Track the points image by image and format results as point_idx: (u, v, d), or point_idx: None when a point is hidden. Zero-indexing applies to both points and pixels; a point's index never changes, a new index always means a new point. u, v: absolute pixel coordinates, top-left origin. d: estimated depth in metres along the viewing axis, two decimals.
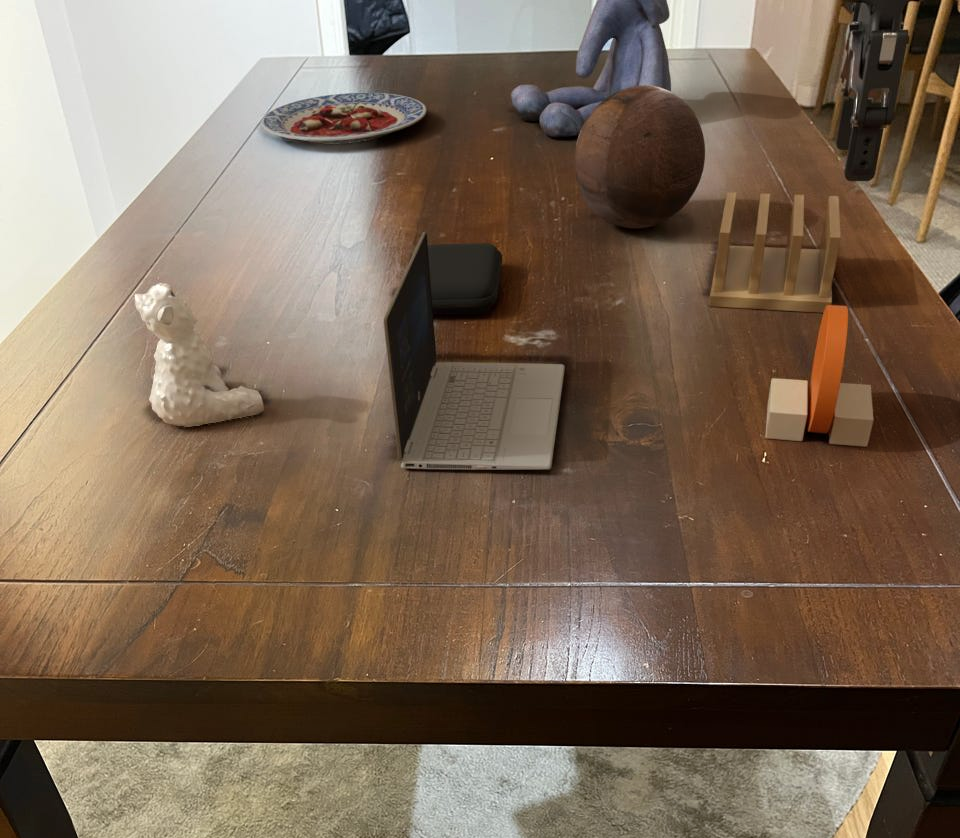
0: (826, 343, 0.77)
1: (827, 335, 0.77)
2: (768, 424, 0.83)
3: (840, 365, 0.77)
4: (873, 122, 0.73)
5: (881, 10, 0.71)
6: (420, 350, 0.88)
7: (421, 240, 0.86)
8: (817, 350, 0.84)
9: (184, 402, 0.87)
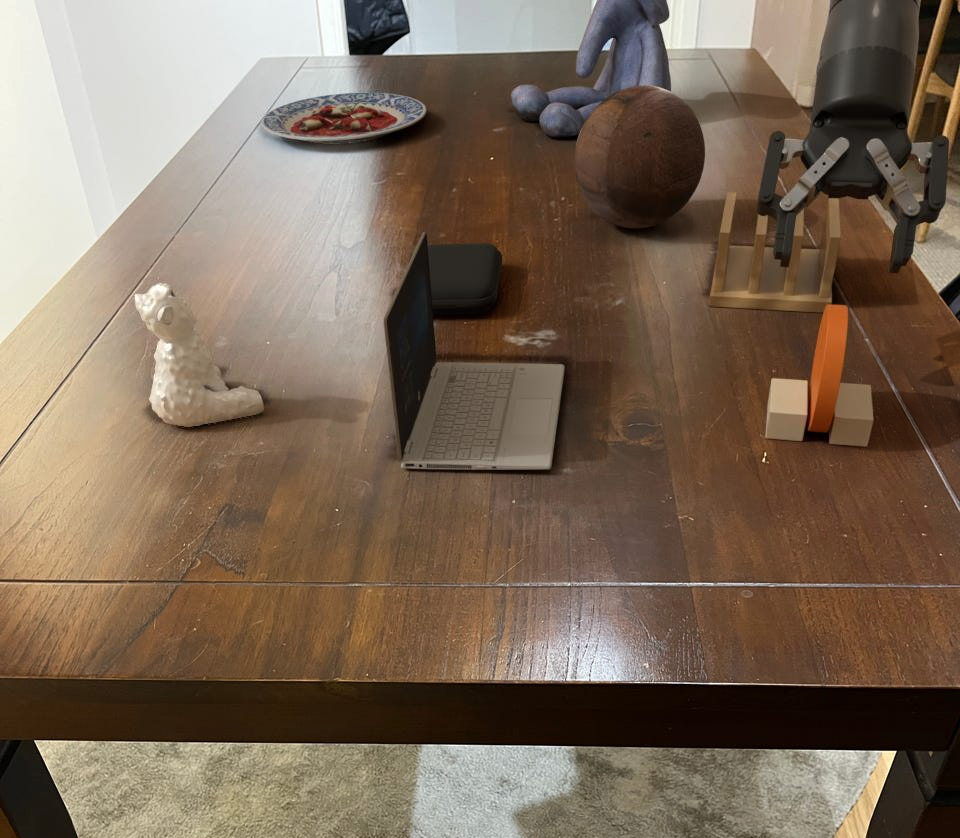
0: (826, 341, 0.77)
1: (827, 333, 0.77)
2: (768, 424, 0.83)
3: (840, 363, 0.77)
4: (758, 206, 0.83)
5: None
6: (420, 350, 0.88)
7: (421, 240, 0.86)
8: (817, 350, 0.84)
9: (184, 402, 0.87)
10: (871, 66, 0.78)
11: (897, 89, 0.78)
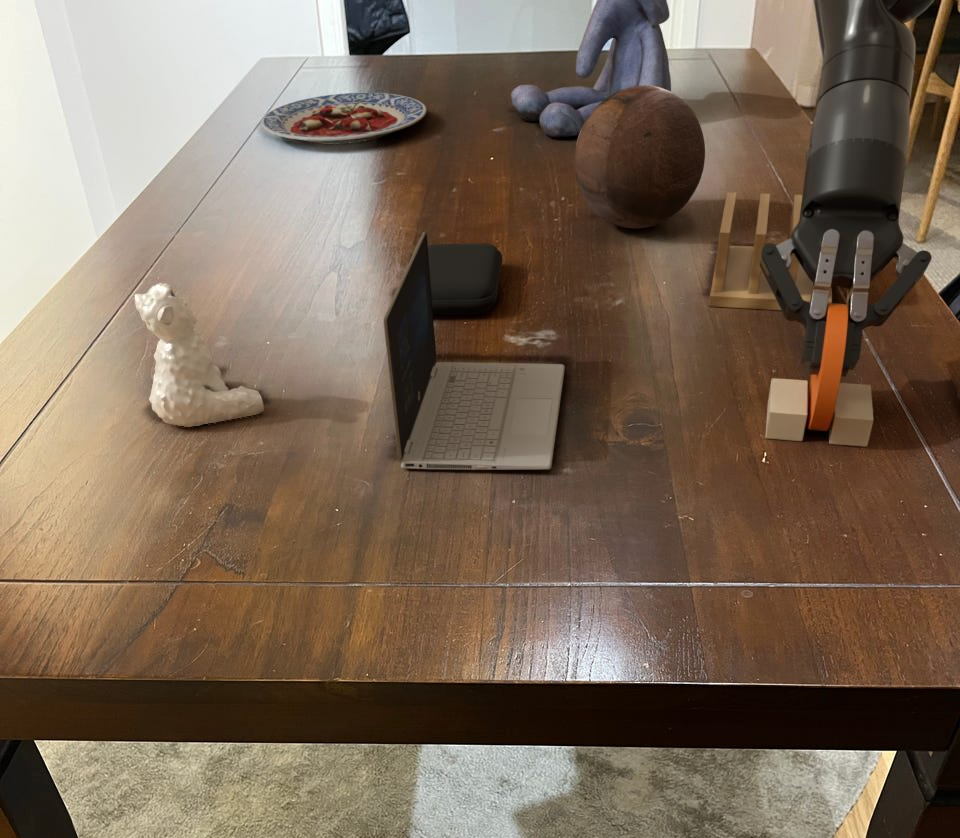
0: (826, 337, 0.77)
1: (827, 329, 0.78)
2: (768, 424, 0.83)
3: (841, 358, 0.77)
4: (786, 312, 0.81)
5: None
6: (420, 350, 0.88)
7: (421, 240, 0.86)
8: None
9: (184, 402, 0.87)
10: (862, 159, 0.77)
11: (888, 182, 0.77)
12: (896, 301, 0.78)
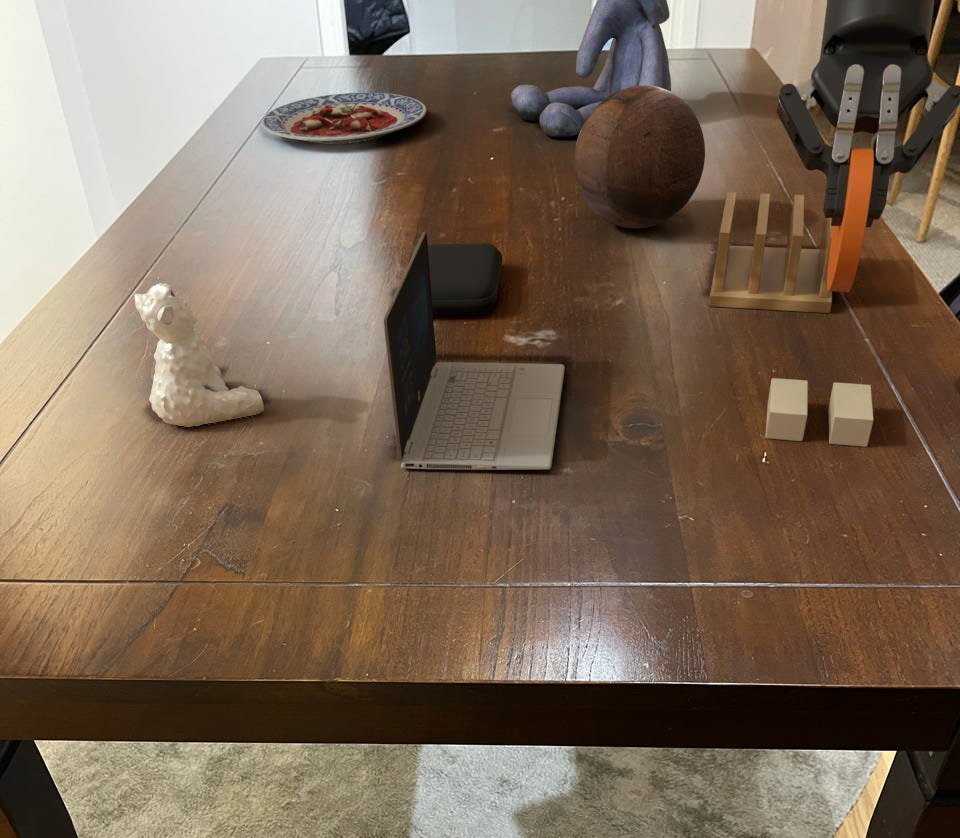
0: (851, 178, 0.72)
1: (852, 170, 0.72)
2: (768, 424, 0.83)
3: (866, 201, 0.71)
4: (806, 158, 0.75)
5: None
6: (420, 350, 0.88)
7: (421, 240, 0.86)
8: None
9: (184, 402, 0.87)
10: None
11: (917, 9, 0.71)
12: (926, 140, 0.72)
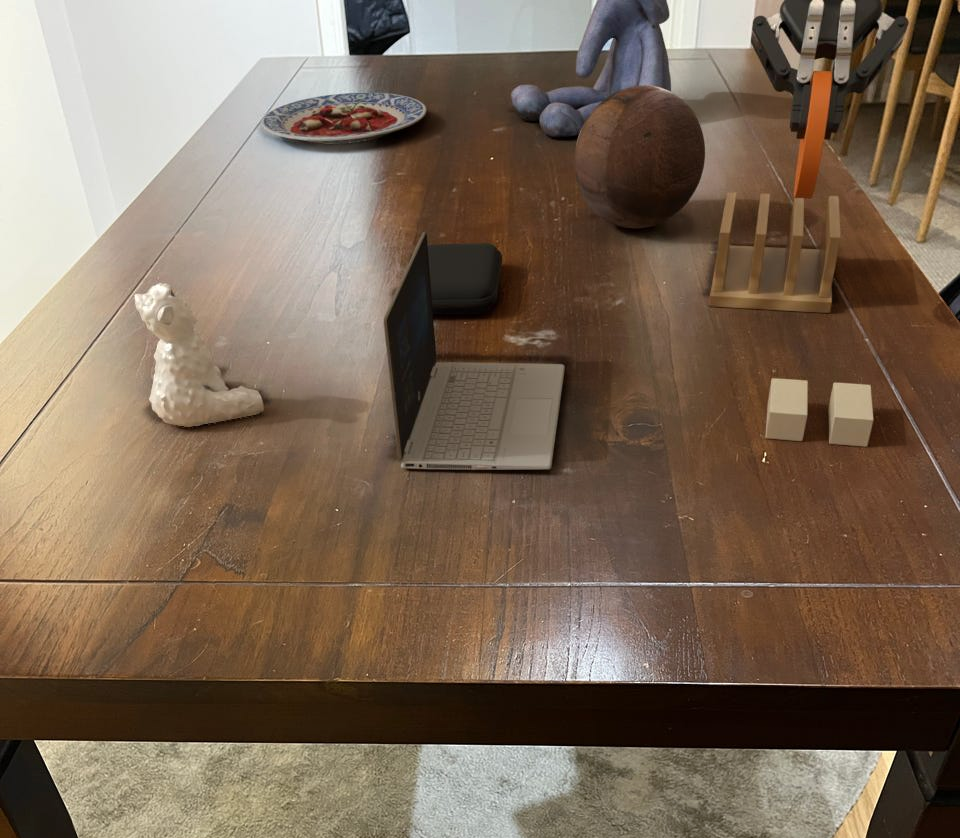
0: (812, 95, 0.84)
1: (813, 88, 0.84)
2: (768, 424, 0.83)
3: (825, 114, 0.84)
4: (775, 81, 0.87)
5: None
6: (420, 350, 0.88)
7: (421, 240, 0.86)
8: None
9: (184, 402, 0.87)
10: None
11: None
12: (876, 63, 0.85)
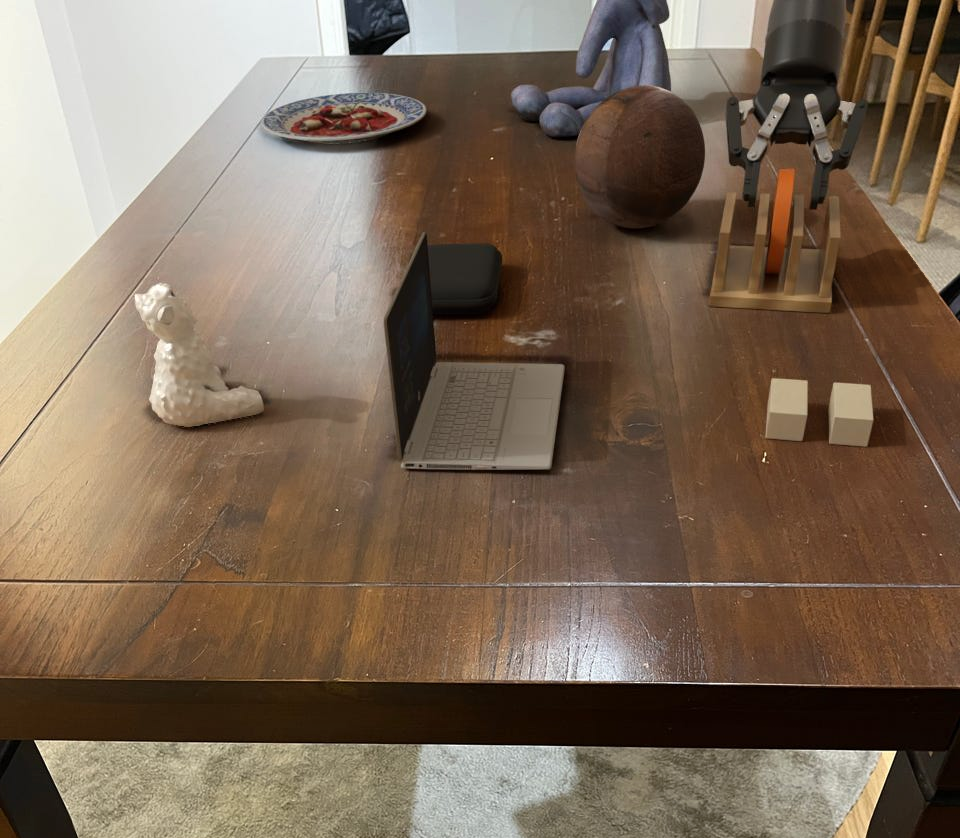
0: (777, 191, 0.99)
1: (778, 185, 0.99)
2: (768, 424, 0.83)
3: (788, 207, 0.99)
4: (729, 157, 1.02)
5: None
6: (420, 350, 0.88)
7: (421, 240, 0.86)
8: None
9: (184, 402, 0.87)
10: (807, 35, 0.97)
11: (827, 54, 0.98)
12: (854, 143, 0.98)
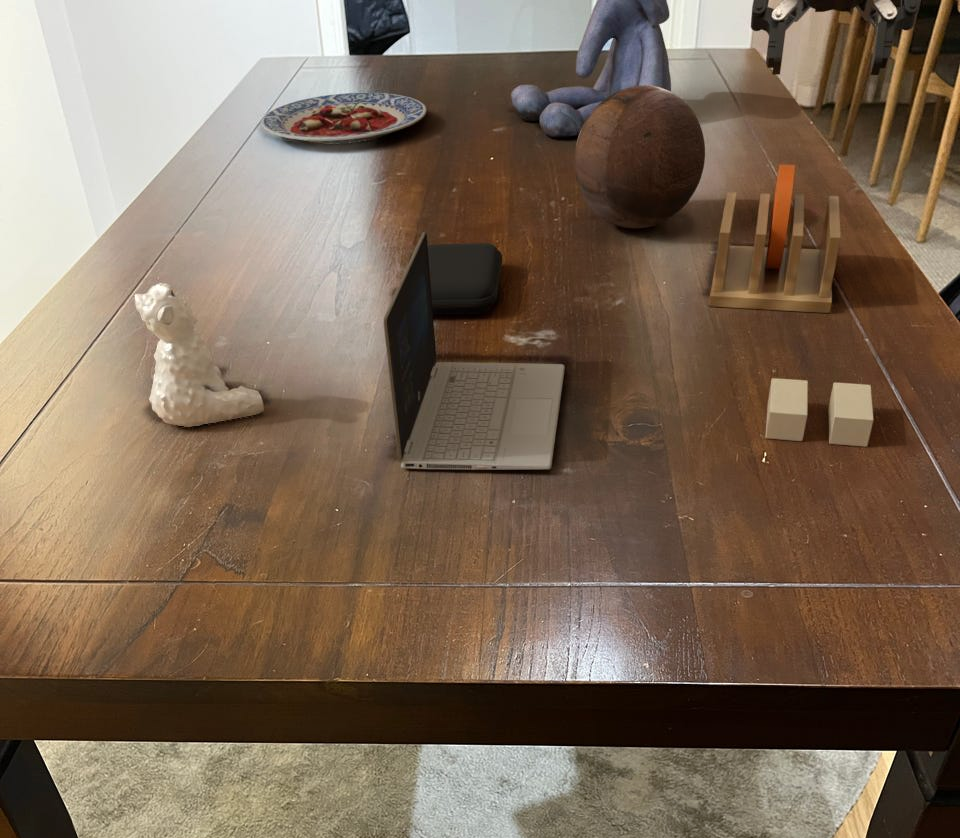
0: (779, 176, 1.00)
1: (779, 172, 1.01)
2: (768, 424, 0.83)
3: (790, 189, 1.00)
4: (752, 20, 0.92)
5: None
6: (420, 350, 0.88)
7: (421, 240, 0.86)
8: (772, 214, 1.07)
9: (184, 402, 0.87)
10: None
11: None
12: None
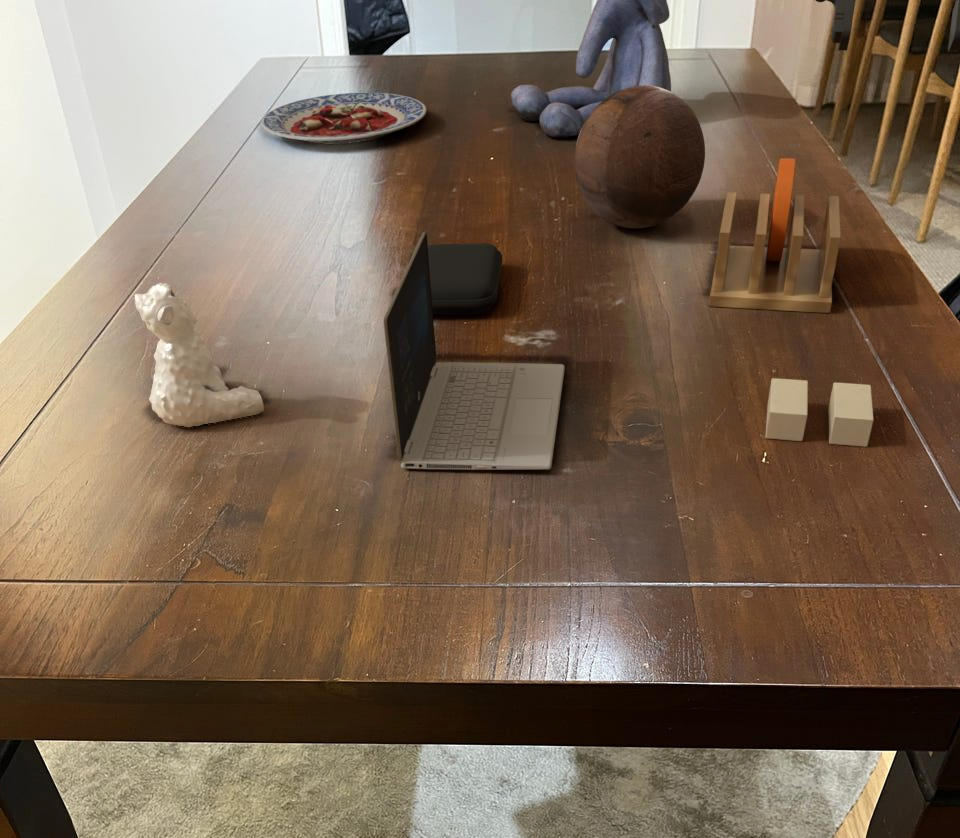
0: (780, 160, 1.03)
1: (781, 158, 1.04)
2: (768, 424, 0.83)
3: (792, 166, 1.02)
4: None
5: None
6: (420, 350, 0.88)
7: (421, 240, 0.86)
8: (771, 219, 1.09)
9: (184, 402, 0.87)
10: None
11: None
12: None
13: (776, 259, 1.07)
